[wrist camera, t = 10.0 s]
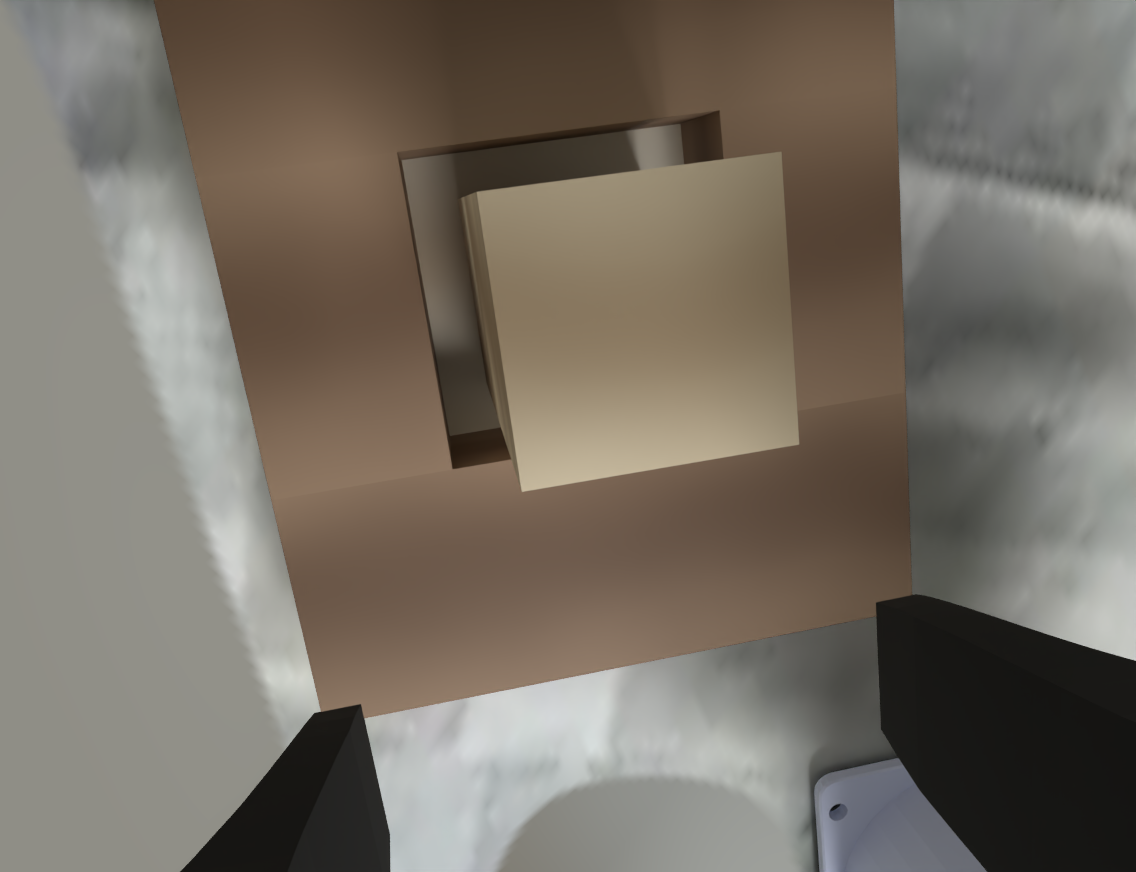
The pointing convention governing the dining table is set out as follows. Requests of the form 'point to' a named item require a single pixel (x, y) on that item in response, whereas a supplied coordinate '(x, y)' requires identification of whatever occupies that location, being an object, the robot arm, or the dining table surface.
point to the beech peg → (635, 317)
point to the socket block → (451, 339)
